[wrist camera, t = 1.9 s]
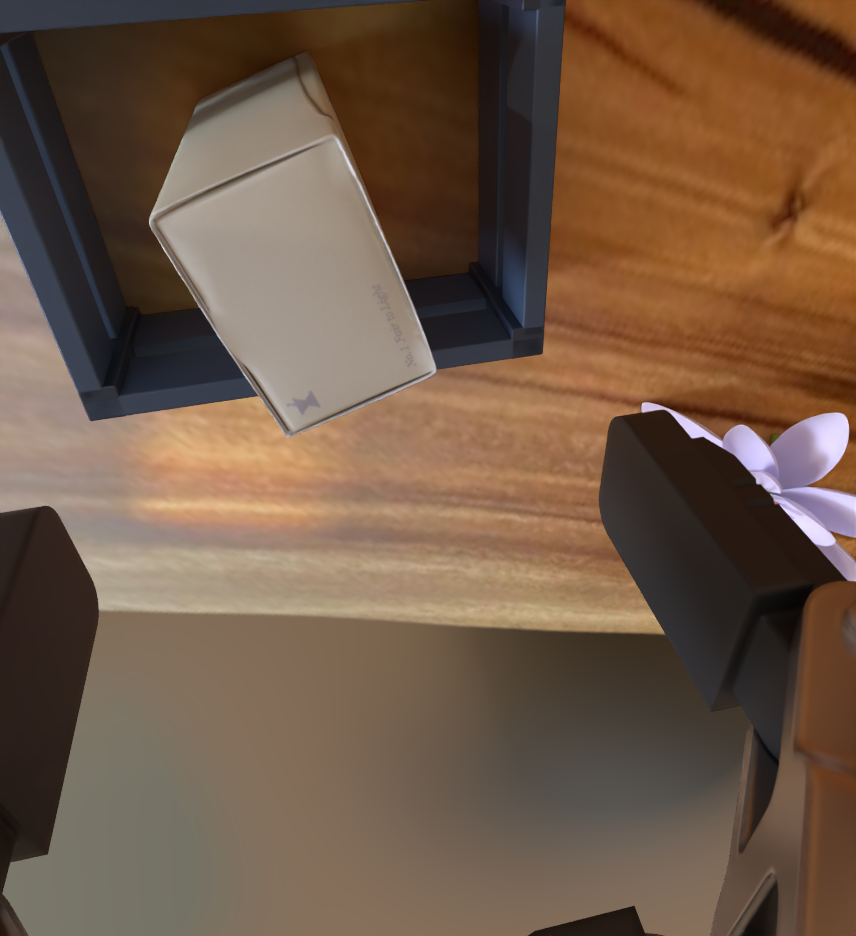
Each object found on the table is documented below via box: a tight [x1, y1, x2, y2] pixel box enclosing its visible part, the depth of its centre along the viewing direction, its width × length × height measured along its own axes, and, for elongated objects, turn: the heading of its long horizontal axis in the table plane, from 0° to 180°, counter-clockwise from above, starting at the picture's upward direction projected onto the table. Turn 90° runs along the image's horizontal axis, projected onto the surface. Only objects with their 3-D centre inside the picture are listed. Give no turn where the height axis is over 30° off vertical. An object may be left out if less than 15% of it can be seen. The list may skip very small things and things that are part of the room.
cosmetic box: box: [149, 51, 437, 438], centre depth 20 cm, size 6×4×12 cm
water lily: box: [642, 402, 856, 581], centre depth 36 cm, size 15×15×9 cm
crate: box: [0, 0, 566, 421], centre depth 22 cm, size 16×12×6 cm
